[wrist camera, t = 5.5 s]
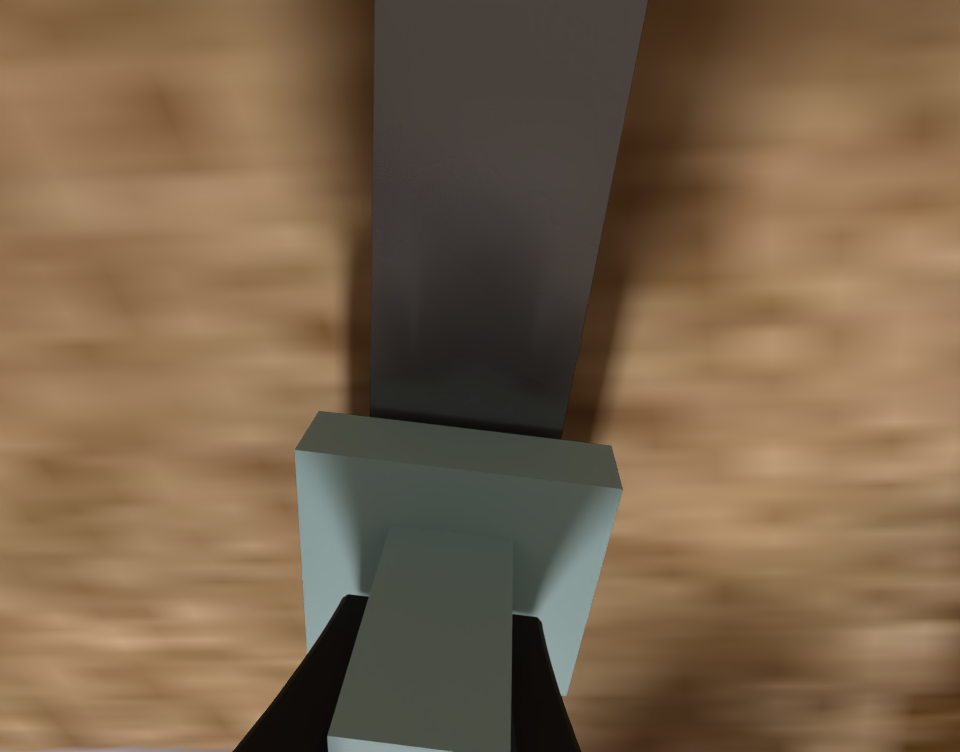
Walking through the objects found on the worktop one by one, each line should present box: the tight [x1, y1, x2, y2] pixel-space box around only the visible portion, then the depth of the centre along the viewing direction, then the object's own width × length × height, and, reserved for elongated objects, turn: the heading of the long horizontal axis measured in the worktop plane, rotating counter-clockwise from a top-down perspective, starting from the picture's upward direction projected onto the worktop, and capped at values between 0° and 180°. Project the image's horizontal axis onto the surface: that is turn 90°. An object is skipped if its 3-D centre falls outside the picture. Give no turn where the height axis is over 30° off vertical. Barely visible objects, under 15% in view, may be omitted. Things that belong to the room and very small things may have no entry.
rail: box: [370, 0, 648, 440], centre depth 10 cm, size 4×26×2 cm, turn 175°
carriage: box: [295, 411, 623, 752], centre depth 10 cm, size 6×6×5 cm
